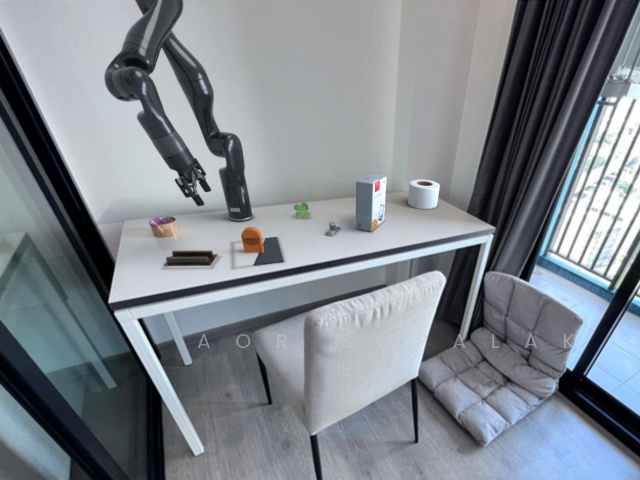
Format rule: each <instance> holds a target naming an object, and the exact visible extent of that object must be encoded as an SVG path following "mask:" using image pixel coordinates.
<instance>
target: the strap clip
mask: <svg viewBox="0 0 640 480" xmlns="http://www.w3.org/2000/svg"><path fill="white" fill-rule="evenodd" d="M328 227H329V229H328V230H326V231H325V235H326V236H329V237H331V236H334V235H335V234H336V232H338V231H340V229H341V227H339V226H337V223H336V222H335V221H329V222H328Z"/></svg>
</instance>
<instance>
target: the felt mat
mask: <svg viewBox="0 0 640 480" xmlns="http://www.w3.org/2000/svg"><path fill="white" fill-rule="evenodd" d="M263 246H264V252H263V253H257V256H256V258H255V260H254V262H253V265H252V266H253V267H255V266H261V265H270V264H279V263H284V262H285V261H284V257H283V254H282V250H281V246H280V243H279V239H278V236H271V237H265V238H264V240H263Z"/></svg>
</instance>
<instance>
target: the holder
mask: <svg viewBox="0 0 640 480" xmlns="http://www.w3.org/2000/svg"><path fill="white" fill-rule="evenodd" d="M171 254H172V255H171V256H166V257H165V260H166V262H165V263H164V264H163V265H162V266H163V267H210V266H212V264H213V263H214V261H215V260H216V258H217V257H218V255H219V254H218V253H214V251H213V250H172V251H171Z"/></svg>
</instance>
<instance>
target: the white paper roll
mask: <svg viewBox="0 0 640 480" xmlns="http://www.w3.org/2000/svg"><path fill="white" fill-rule="evenodd" d="M440 187H441V185H440V183H438V182H437V181H434V180H430V179H413V180H411V181H410V182H409V187H408V197H407V198H408V199H407V205H409V206H410V207H412V208H414V209H420V210H432V209H435V208H437V206H438V202H439V194H440Z"/></svg>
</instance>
